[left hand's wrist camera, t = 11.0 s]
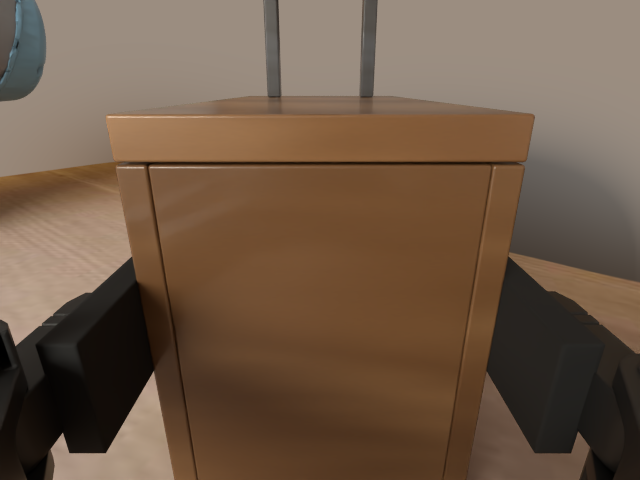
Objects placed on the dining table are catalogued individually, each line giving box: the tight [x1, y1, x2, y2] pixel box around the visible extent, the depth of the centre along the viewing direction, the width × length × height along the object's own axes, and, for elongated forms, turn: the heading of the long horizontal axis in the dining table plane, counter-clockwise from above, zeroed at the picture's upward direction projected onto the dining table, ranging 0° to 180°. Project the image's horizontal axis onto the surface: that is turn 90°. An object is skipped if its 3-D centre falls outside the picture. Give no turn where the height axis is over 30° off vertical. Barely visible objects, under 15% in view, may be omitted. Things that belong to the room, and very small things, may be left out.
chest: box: [116, 162, 525, 480], centre depth 18 cm, size 17×9×10 cm, turn 0°
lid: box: [106, 0, 535, 162], centre depth 15 cm, size 18×9×8 cm, turn 0°
